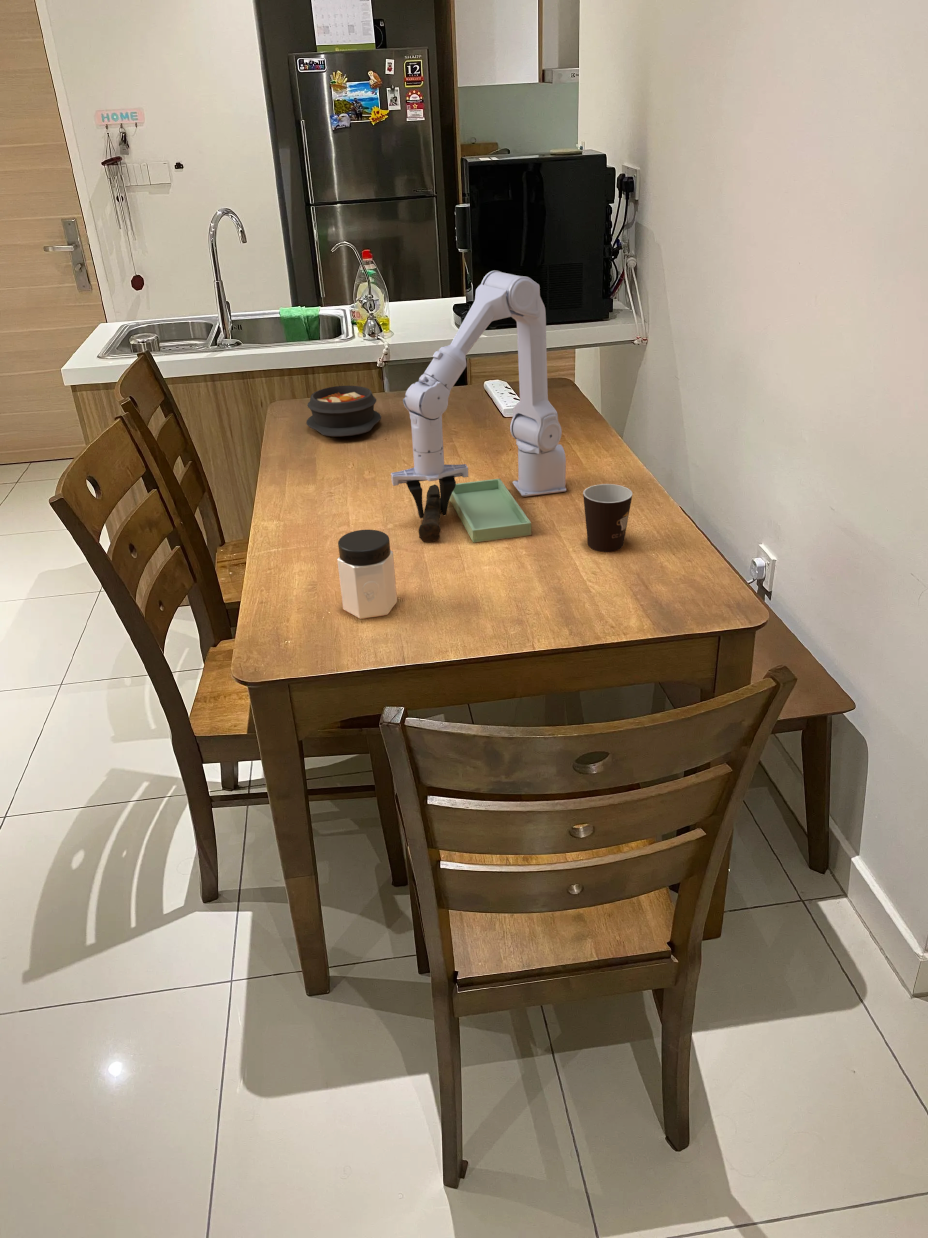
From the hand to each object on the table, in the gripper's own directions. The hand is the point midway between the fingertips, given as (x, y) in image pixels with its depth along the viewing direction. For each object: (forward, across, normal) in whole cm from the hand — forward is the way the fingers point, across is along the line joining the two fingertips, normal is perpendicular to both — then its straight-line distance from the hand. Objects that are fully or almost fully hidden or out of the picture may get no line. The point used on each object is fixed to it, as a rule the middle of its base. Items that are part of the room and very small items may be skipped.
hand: (432, 514), depth 180 cm
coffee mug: (+2, +30, -19) cm, 35 cm away
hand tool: (+2, 0, 0) cm, 2 cm away
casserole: (+2, -10, +63) cm, 64 cm away
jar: (+2, -16, -30) cm, 34 cm away
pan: (+1, +11, 0) cm, 11 cm away
